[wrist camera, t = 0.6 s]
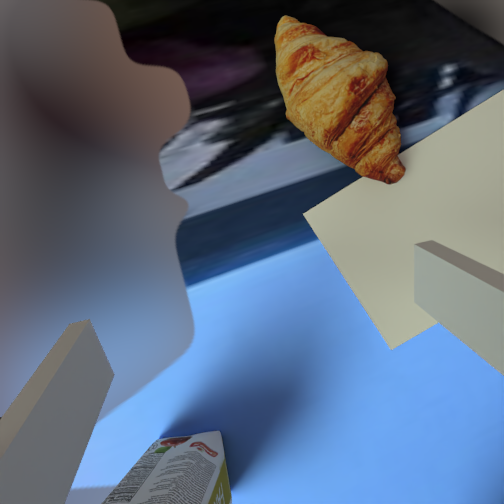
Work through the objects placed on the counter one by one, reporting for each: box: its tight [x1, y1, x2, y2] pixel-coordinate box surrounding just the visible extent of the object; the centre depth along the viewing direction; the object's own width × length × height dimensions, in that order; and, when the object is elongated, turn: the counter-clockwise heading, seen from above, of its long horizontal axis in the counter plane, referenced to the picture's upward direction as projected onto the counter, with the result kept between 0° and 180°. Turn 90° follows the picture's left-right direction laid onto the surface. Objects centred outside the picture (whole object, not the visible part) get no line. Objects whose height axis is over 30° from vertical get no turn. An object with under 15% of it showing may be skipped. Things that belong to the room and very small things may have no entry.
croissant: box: [274, 16, 406, 185], centre depth 31 cm, size 21×10×8 cm, turn 32°
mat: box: [303, 90, 504, 350], centre depth 32 cm, size 16×24×1 cm, turn 121°
